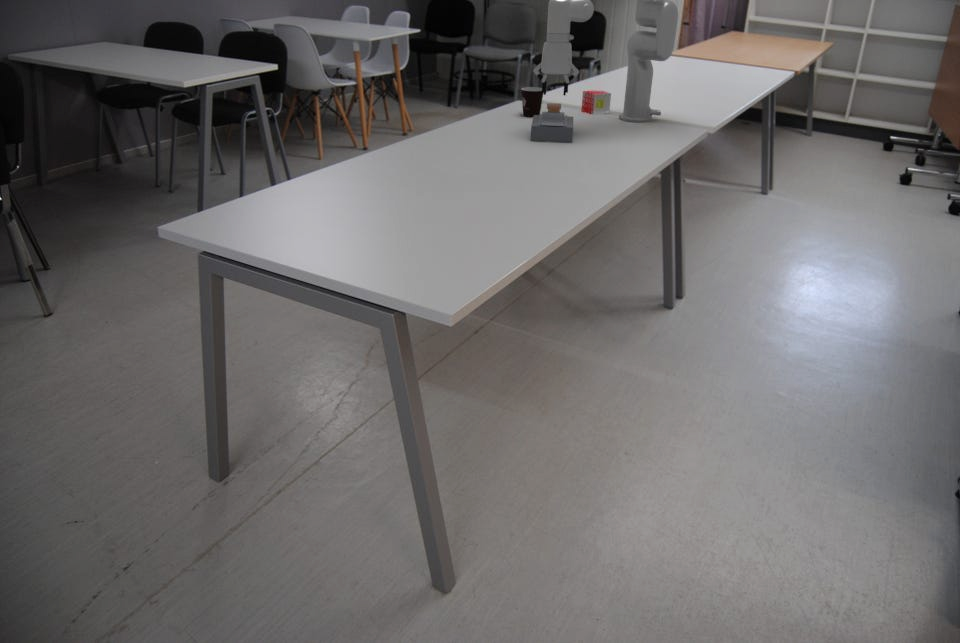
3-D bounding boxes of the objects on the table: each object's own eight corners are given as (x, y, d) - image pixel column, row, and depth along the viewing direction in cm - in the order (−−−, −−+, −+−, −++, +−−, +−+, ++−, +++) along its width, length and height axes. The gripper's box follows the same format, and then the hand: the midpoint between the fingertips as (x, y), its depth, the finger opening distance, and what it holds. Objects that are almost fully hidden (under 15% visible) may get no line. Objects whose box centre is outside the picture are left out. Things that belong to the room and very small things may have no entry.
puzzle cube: (593, 115, 290) (594, 94, 287) (581, 111, 296) (582, 91, 293) (609, 113, 294) (611, 93, 290) (597, 110, 300) (599, 89, 296)
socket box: (572, 130, 265) (573, 115, 262) (572, 142, 249) (573, 126, 246) (533, 129, 266) (533, 113, 264) (530, 140, 250) (531, 124, 248)
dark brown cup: (543, 118, 283) (544, 91, 279) (520, 117, 283) (521, 90, 279) (541, 112, 294) (542, 86, 289) (519, 111, 294) (520, 85, 289)
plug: (559, 135, 258) (561, 106, 253) (545, 135, 258) (547, 105, 254) (559, 132, 262) (560, 103, 258) (545, 132, 262) (547, 103, 258)
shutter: (564, 121, 254) (564, 112, 252) (563, 126, 247) (564, 116, 246) (541, 120, 254) (542, 111, 253) (540, 125, 248) (541, 116, 246)
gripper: (583, 38, 248) (579, 93, 257) (532, 36, 250) (530, 91, 258) (584, 40, 242) (580, 97, 250) (531, 39, 243) (528, 95, 252)
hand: (554, 93), depth 254 cm, fingers open, 6 cm apart
